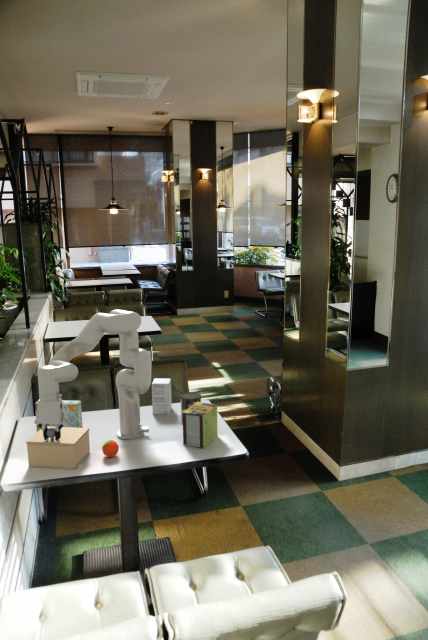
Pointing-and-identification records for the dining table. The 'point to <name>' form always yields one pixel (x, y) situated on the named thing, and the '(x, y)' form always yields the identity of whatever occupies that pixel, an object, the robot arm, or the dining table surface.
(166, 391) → the supplement box
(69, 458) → the carton
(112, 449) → the clementine
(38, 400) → the robot arm
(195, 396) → the coffee can
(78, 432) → the lid flap
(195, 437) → the protein box
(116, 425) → the dining table surface
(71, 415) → the snack box
